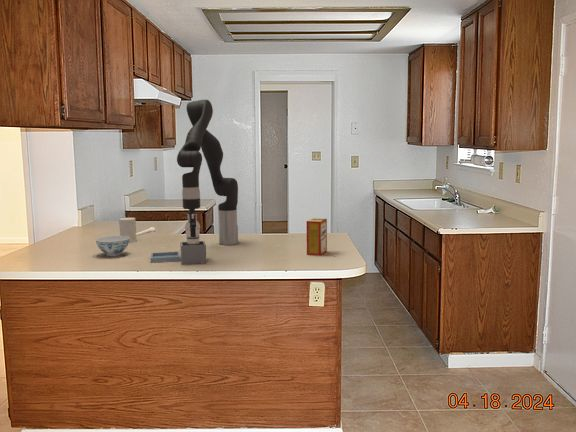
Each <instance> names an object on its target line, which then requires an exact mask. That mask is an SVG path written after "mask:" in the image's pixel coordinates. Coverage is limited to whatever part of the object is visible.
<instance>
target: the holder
mask: <svg viewBox="0 0 576 432" xmlns="http://www.w3.org/2000/svg"><path fill="white" fill-rule="evenodd" d="M199 242H200V245H188V246H187V241H179V243H180V247H179V248H180V262H181V265H196V264H207V244H206V241H205V240H199Z"/></svg>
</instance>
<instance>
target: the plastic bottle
mask: <svg viewBox="0 0 576 432" xmlns="http://www.w3.org/2000/svg"><path fill="white" fill-rule="evenodd" d="M189 217H190V216H189ZM196 219H198V216H197V217H196ZM191 225H194V223H191ZM184 228H185V234H186V242H187V246H188V245H200V242H199V241H200V235H201V234H200V232H201V224H200V222H199V221H198V220H197V223H196V237H191V233H190V224H189V222H188V220H186V223H185V226H184Z"/></svg>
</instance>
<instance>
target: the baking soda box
mask: <svg viewBox="0 0 576 432" xmlns="http://www.w3.org/2000/svg"><path fill="white" fill-rule="evenodd" d="M327 223H328V219H327V218H318V217H317V218H316V217H314V218H313V217H312V218H310V219H308V220H306V256H315V257H321V256H322V255H324V254H326V253H327V252H328V230H327V229H328V226H327V225H328V224H327Z"/></svg>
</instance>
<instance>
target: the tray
mask: <svg viewBox="0 0 576 432" xmlns="http://www.w3.org/2000/svg"><path fill="white" fill-rule="evenodd" d="M169 262H170V263H171V262H173V263H174V262H181V252H180V251H164V252H163V251H161V252H160V251H159V252H151V253H150V263H151V264H152V263H153V264H155V263H169Z"/></svg>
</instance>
